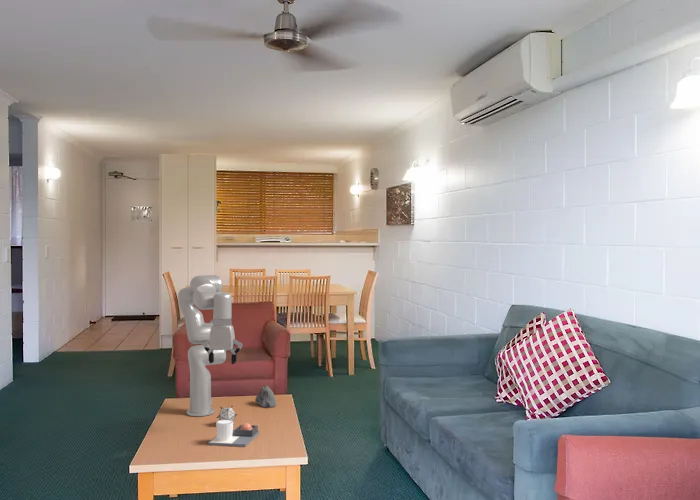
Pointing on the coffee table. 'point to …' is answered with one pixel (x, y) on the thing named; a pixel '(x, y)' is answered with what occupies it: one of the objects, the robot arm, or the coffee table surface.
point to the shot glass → (224, 430)
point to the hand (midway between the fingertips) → (222, 363)
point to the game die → (227, 414)
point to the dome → (246, 427)
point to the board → (238, 437)
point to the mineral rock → (266, 397)
